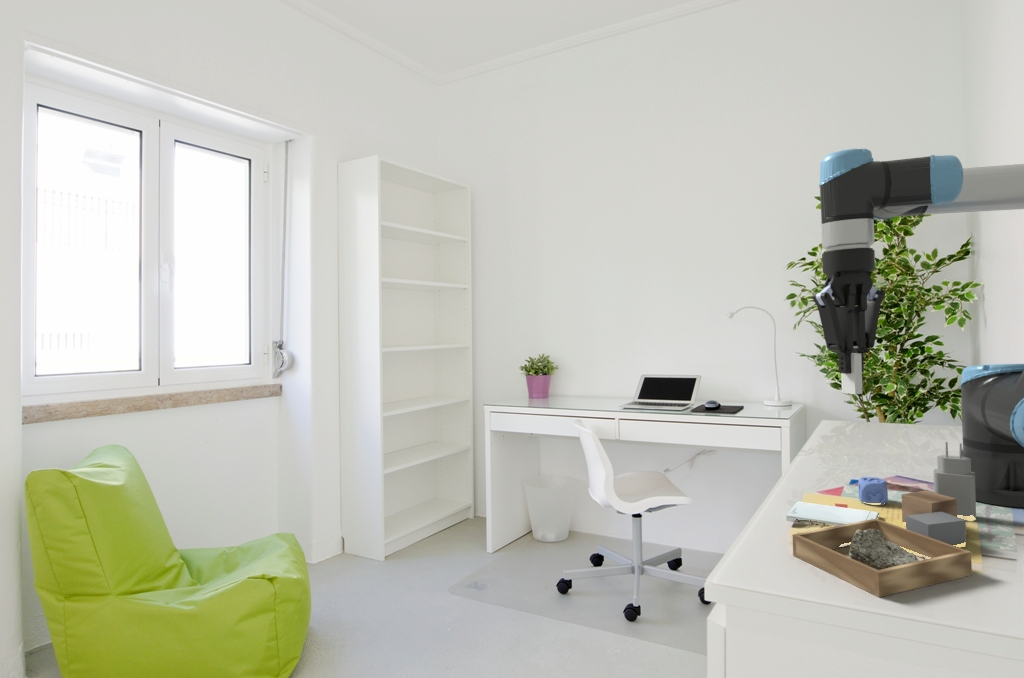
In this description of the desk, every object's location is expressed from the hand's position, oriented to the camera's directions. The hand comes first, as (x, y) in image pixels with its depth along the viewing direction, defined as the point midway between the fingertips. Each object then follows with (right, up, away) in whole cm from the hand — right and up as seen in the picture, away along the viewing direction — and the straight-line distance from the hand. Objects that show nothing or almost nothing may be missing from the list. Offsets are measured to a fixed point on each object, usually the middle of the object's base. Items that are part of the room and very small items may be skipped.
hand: (852, 392), depth 102 cm
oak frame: (-6, -22, -18) cm, 29 cm away
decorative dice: (+8, -20, +7) cm, 23 cm away
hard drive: (-3, -21, 0) cm, 22 cm away
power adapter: (+16, -20, -2) cm, 25 cm away
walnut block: (+9, -20, -6) cm, 23 cm away
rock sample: (-6, -22, -20) cm, 30 cm away
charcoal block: (+5, -21, -12) cm, 25 cm away
